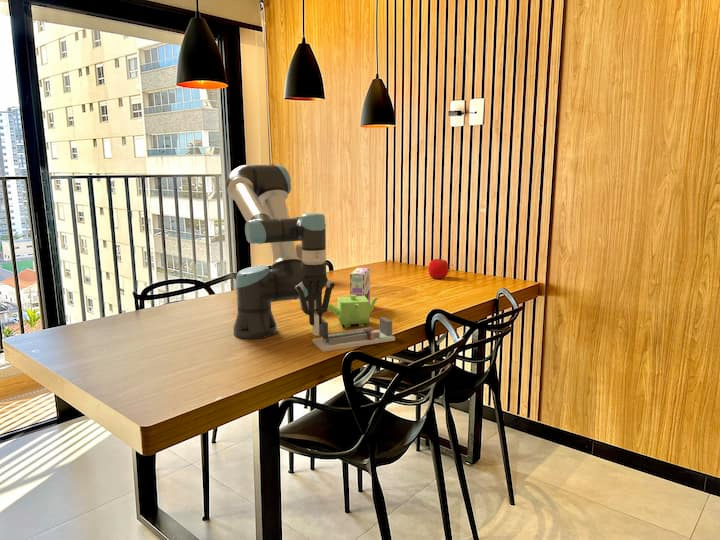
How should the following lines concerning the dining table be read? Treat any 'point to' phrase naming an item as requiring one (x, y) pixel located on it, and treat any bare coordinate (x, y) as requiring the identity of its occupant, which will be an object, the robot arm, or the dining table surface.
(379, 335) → the base
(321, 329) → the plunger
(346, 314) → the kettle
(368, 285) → the candy box
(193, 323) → the dining table surface
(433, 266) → the tomato
